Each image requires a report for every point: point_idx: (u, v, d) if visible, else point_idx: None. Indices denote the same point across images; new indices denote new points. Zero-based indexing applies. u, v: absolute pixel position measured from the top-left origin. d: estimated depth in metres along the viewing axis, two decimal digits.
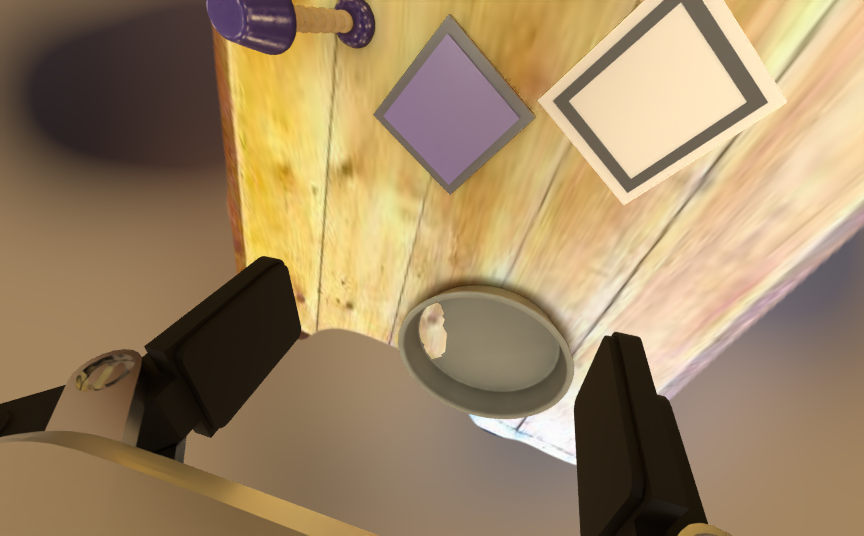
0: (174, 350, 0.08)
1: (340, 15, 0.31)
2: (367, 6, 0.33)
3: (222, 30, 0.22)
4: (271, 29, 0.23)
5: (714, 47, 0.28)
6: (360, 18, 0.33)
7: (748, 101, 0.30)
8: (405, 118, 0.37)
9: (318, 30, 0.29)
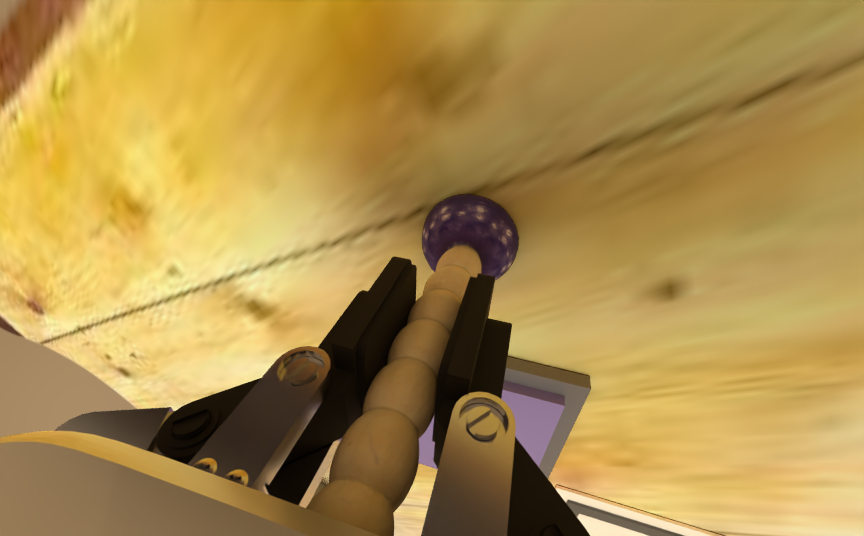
0: (357, 347, 0.08)
1: None
2: (513, 260, 0.15)
3: None
4: None
5: None
6: None
7: None
8: None
9: None
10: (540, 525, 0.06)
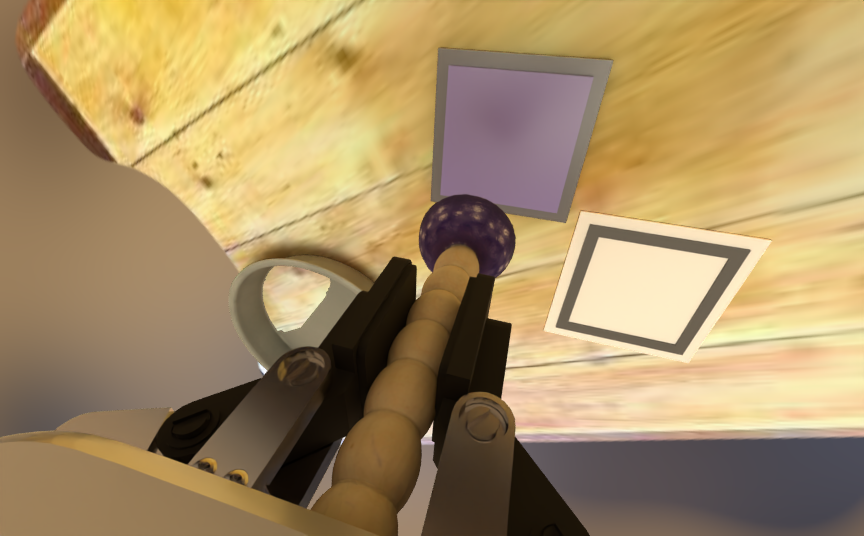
0: (357, 347, 0.08)
1: None
2: (510, 259, 0.15)
3: None
4: None
5: (704, 301, 0.31)
6: None
7: (676, 344, 0.34)
8: (467, 96, 0.26)
9: None
10: (540, 525, 0.06)
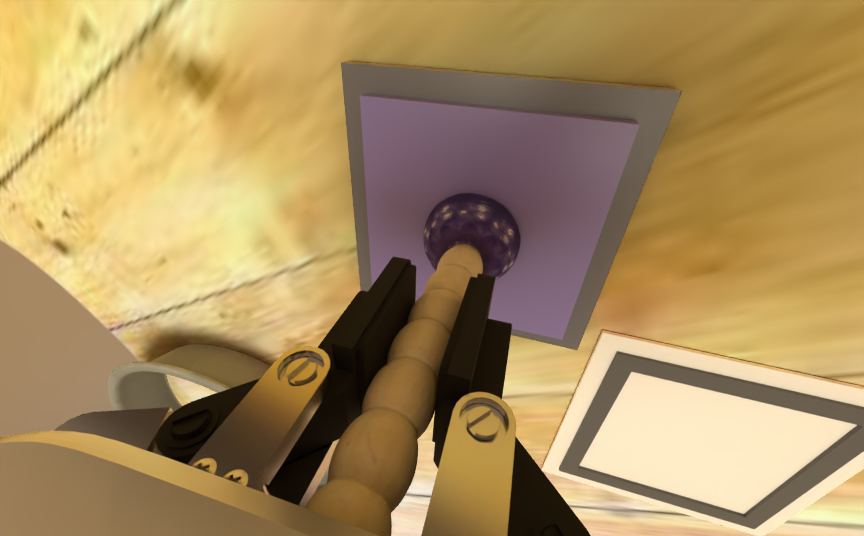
0: (357, 347, 0.08)
1: None
2: (515, 259, 0.15)
3: None
4: None
5: (802, 472, 0.19)
6: None
7: (745, 514, 0.22)
8: (399, 151, 0.14)
9: None
10: (540, 525, 0.06)
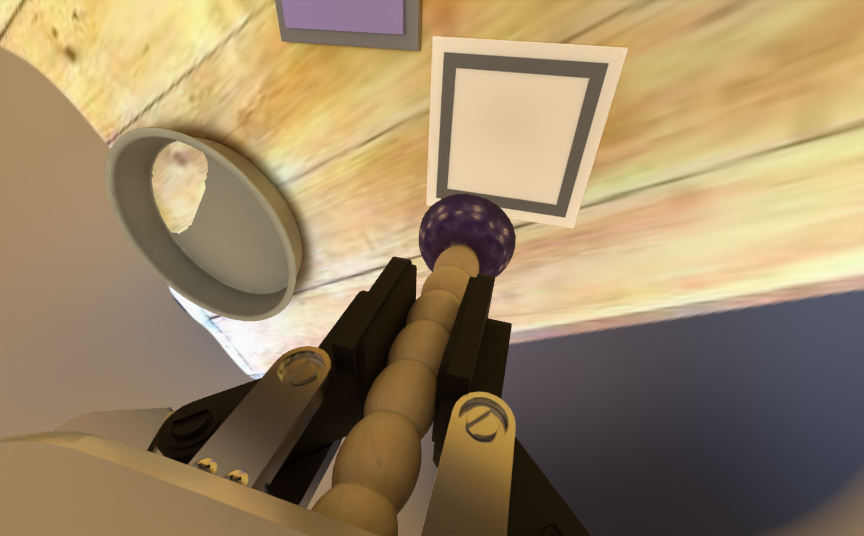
0: (357, 347, 0.08)
1: None
2: (510, 258, 0.15)
3: None
4: None
5: (575, 142, 0.28)
6: None
7: (557, 205, 0.32)
8: None
9: None
10: (540, 525, 0.06)
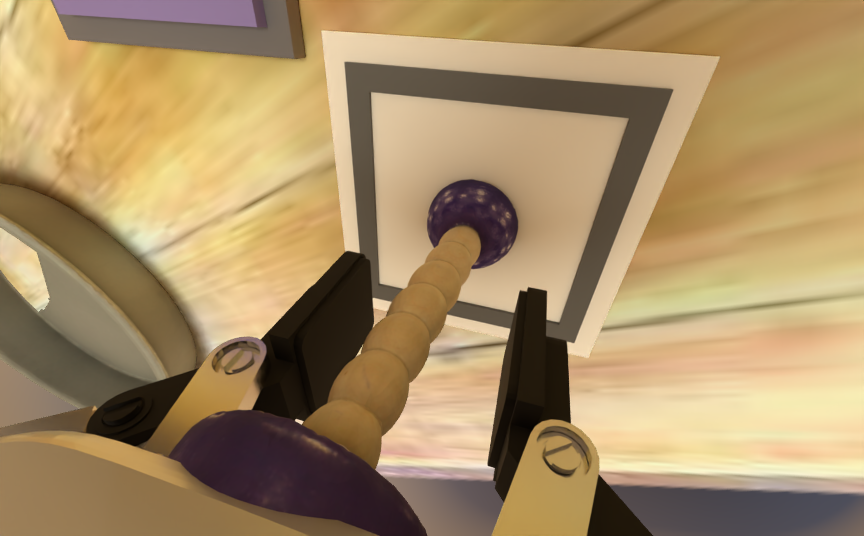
0: (294, 337, 0.08)
1: (467, 277, 0.13)
2: (513, 242, 0.16)
3: None
4: None
5: (595, 230, 0.15)
6: (487, 258, 0.15)
7: (561, 323, 0.18)
8: None
9: None
10: None
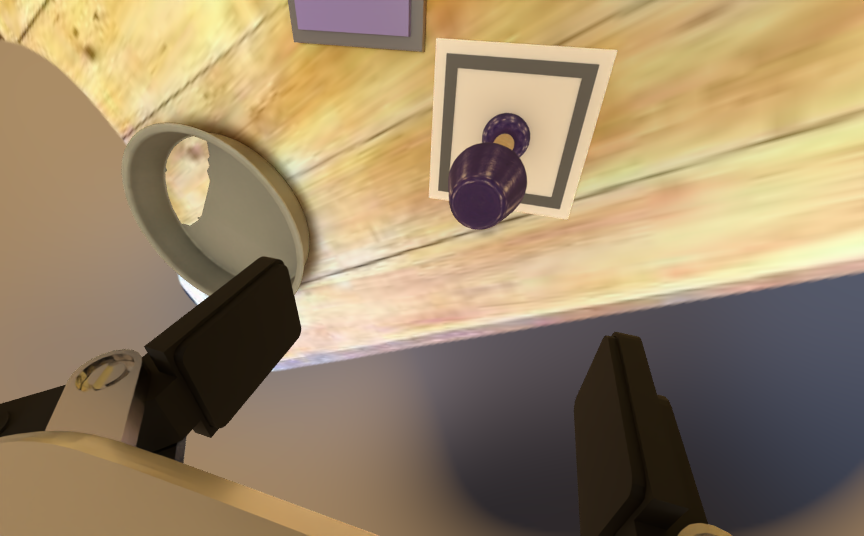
0: (174, 350, 0.08)
1: None
2: (528, 145, 0.31)
3: (457, 207, 0.18)
4: None
5: (568, 138, 0.30)
6: (516, 152, 0.31)
7: (552, 197, 0.34)
8: None
9: None
10: None
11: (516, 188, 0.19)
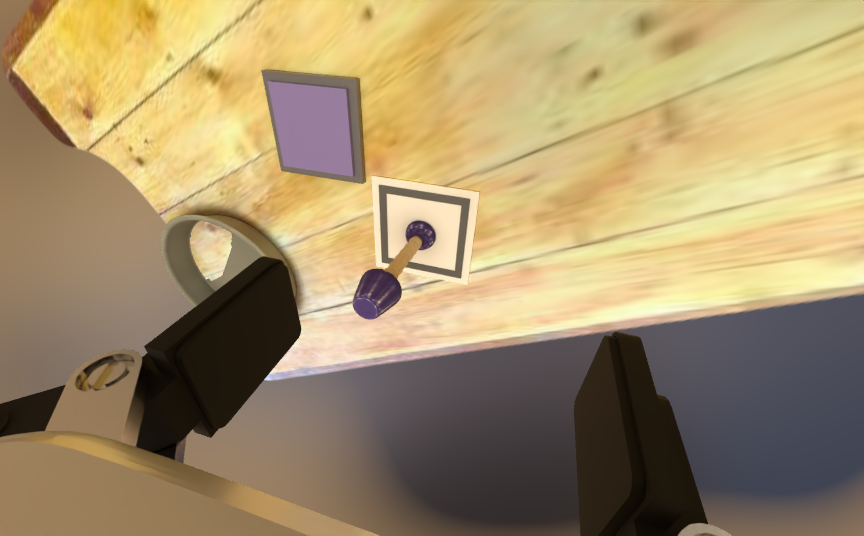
0: (174, 350, 0.08)
1: None
2: (434, 241, 0.47)
3: (356, 308, 0.35)
4: None
5: (459, 237, 0.47)
6: (425, 246, 0.47)
7: (455, 271, 0.50)
8: (282, 100, 0.42)
9: None
10: None
11: (388, 298, 0.35)
